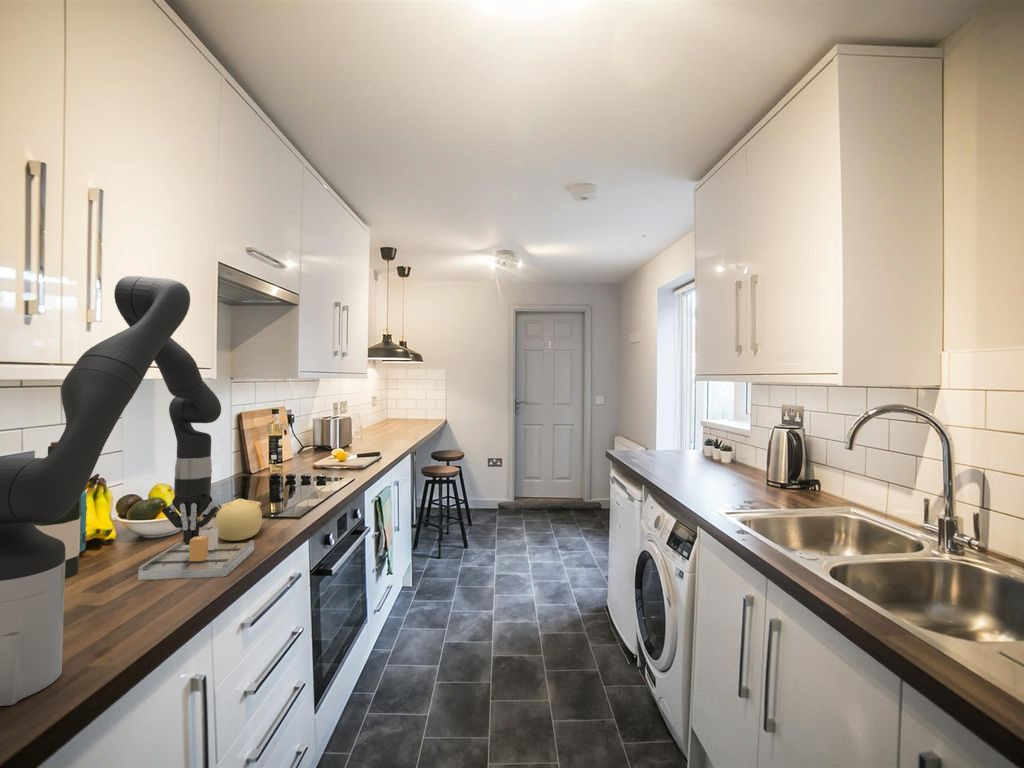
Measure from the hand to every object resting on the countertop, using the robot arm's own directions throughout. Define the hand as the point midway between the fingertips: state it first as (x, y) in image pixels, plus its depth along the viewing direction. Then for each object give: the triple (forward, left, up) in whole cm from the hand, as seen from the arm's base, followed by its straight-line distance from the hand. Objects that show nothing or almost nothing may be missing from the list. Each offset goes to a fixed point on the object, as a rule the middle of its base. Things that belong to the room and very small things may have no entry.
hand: (191, 543), depth 113 cm
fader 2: (0, -4, -1) cm, 4 cm away
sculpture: (+16, -5, -4) cm, 17 cm away
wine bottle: (-7, +24, -4) cm, 26 cm away
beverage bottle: (+4, +29, -4) cm, 30 cm away
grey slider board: (-3, -4, -4) cm, 6 cm away
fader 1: (-7, -5, -1) cm, 9 cm away
